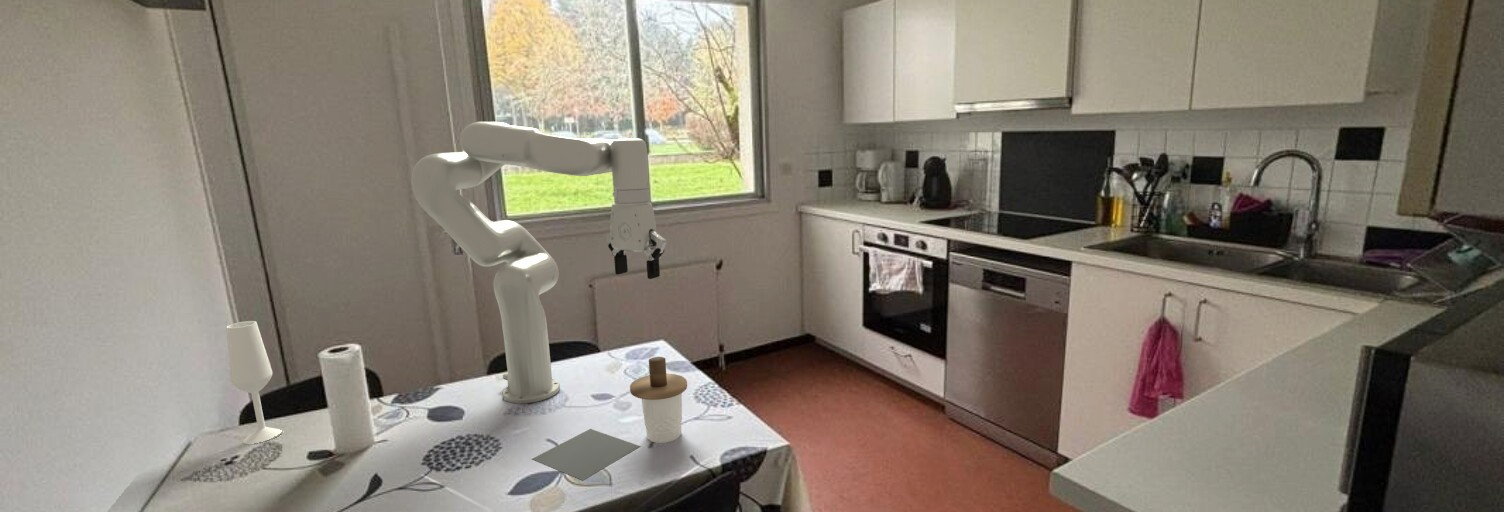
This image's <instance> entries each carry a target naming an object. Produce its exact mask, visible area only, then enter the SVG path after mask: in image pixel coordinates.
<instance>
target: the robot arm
mask: <svg viewBox="0 0 1504 512" xmlns="http://www.w3.org/2000/svg"><path fill="white" fill-rule="evenodd" d="M459 142H460V147H461V149H462V151H453V152H449V151H448V152H437V153H431V154H428V155H425V156H424V157H422V158H420V159H419V160H418V161H417V162H416V163H415V165H414V167H413V169H412V171H411V172H412V173H411V188H412V192H413V195H414V197H415V199H416V201H417V203H418V204H419V206H420V207H421V209H423V210H424V211H425V212H426V213H427V215H428V216H429V217H430V218H431V219H433V220H434V221H435V222H436V223H437V224H438V225H439V226H440V227H441V228H442V229H443V230H444V231H445V232H446V233H447V235H449V237H450V238H452V240H453V241H454V242H455V243H456V244H457V245H458V246H459V247H460V248H461V249H462V250H463V251H464V253H466V255H467V256H468V257H469V258H470V259H471V260H472V261H473V263H476V264H477V265H479V266H481V267H485V268H486V267H493V266H497V265H499V264H502V263H505V264H504V265H502V266H501V267H500V269H498V271H497V272H496V273H495V275H494V278H493V284H492V285H493V292H494V295H495V298H496V299H495V300H496V301H497V304H498V308H499V309H498V310H499V312H500V313H499V314H500V319H501V326H502V333H503V341H504V349H505V351H504V353H505V360H506V368H507V373H504V374H503V375H502V379H503V380H506V381H507V386H506V387H505V388H504V390H503V391H502V397H503V400H505V401H506V402H509V403H513V404H530V403H535V402H536V403H537V402H539V401H543V400H546V399H548V398H552V397H553V396H555V395H556V394H557V393H559V392H560V389H561V388H560V387H561V386H560V382H559V381H558V380H556V379H553V376H552V375H553V374H552V364H551V363H552V362H551V356H550V355H551V354H550V345H549V344H550V343H549V335H548V334H549V333H548V325H547V317H546V312H545V309H544V307H543V304H542V301H541V299H540V295H541V294H544V293H546V292H548V291H549V290H551V289H552V288H554V287H555V285H556V284H557V282H558V280H559V276H560V271H559V268H558V264H557V262H556V261H555V259H554V258H553V257H552V255H550V254H549V252H548V251H547V250H546V249H545V248H544V247H543V246H542V245H541V243H539V242H538V240H537V239H536V238H535V237H534V236H533V235H532V234H531V233H530V232H529V231H528V229H526V228H525V226H523V225H521V224H520V223H518V222H516V221H513V220H510V219H502V220H501V219H500V220H497V221H496V220H495V221H493V220H492V219H491V220H490V218H488V217H487V216H486V215H485V214H484V213H483V212H482V211H481V210H480V209H479V208H478V207H477V205H476V204H474V203H473V202H472V201H471V200H470V199H468V198H467V197H465V196H463V195H462V194H460V193H459V192H458V191H459V190H464V189H471V188H472V189H473V188H474V187H475V188H476V187H477V186H479V185H481V184H482V183H484V182H485V181H487V180H488V179H489V178H490V177H491V176H493V175H494V174H495V173H496V172H498V171H499V170H500V169H501V168H502V167H504V166H505V165H510V166H515V167H516V166H517V167H521V168H522V167H523V168H530V169H533V170H539V171H544V172H548V173H553V174H558V175H559V174H560V175H568V176H573V177H574V176H575V177H588V176H595V175H600V174H606V173H607V174H608V173H611V175H612V185H613V186H612V188H613V191H612V196H613V202H614V203H612V205H611V210H610V223H609V224H610V225H609V226H610V231H609V233H607V234H606V235H604V238H605V240H606V243H607V244H608V245H607V246H608V249H609V251H611V256H612V257H613V259H614V272H615V275H621V274H626V273H627V272H628V270H629V269H628V258H627V257H628V256H627V254H626V252H633V253H641V252H643V253H644V254H645V256H646V258H647V259H648V260H646V272H647V273H646V274H647V275H646V276H647V279H649V280H652V279H655V278H656V279H657V278H659V277H660V276H661V273H660V272H661V270H660V259H662V255H663V254H664V253H665V248H666V245H667V243H668V241H667V239H666V238H664V237H663V236H661V235H660V234H659V233H658V232H657V230H658V229H657V223H656V221H657V220H656V218H655V217H656V215H655V211H654V207H653V204H652V203H651V195H650V192H651V191H650V181H649V180H650V179H649V163H648V162H649V161H648V160H649V159H648V148H647V143H646V141H645V140H644V139H642V138H636V137H635V138H617V139H606V138H575V137H574V138H573V137H565V136H557V135H552V134H551V135H550V134H546V133H542V132H541V131H540V129H537V128H534V127H528V126H527V127H526V126H518V125H510V124H508V123H506V122H502V121H501V122H500V121H476V122H472V123H470V124H468V125H466V126H465V127H464V128H463V130H462V131H461V133H460V136H459Z"/></svg>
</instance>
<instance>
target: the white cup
mask: <svg viewBox="0 0 1504 512" xmlns="http://www.w3.org/2000/svg"><path fill="white" fill-rule="evenodd" d="M682 396H683V395H682V393H681V394H679V395H677V396H674V397H670V398H666V399H658V400H647V399H641V405H642V414H643V420H644V426H645V430H646V437H647V438H646V439H647V440H649V441H650V442H652V443H658V444H659V443H662V444H663V443H670V442H673V441H676V440H677V439H679V438H680V436H681V435H682V419H683V415H682V414H683V402H682V401H683V398H682Z"/></svg>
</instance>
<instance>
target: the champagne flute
mask: <svg viewBox="0 0 1504 512" xmlns="http://www.w3.org/2000/svg"><path fill="white" fill-rule="evenodd" d="M259 328H260V327H259V326H258V322H257V320H256V321H255V320H247V321H239V322H236V323H232V324H229V325H227V326H226V340H227V351H228V352H227V354H228V364H229V377H230V383H231V385H233V386H234V387H235V388H236V389H238V390H241V391H243V392H245V393H248V394H251V399H252V403H253V409H254V412H255V414H254V415H255V418H256V424H257V429H256V430H255V431H253V432H252V433H251V434H249V435H248V436H246V437H245V438H244V439H243V440H242V442H243V444H245V445H255V444H254V443H258V444H260V443H259V442H263V441H265V440H269V439H271V438H273V437H274V436H277V435H278V434H280V433H281V432H282V430H283V429H281V430H280V429H279V428H275V427H268V426H266V423H265V418H264V413H263V409H262V408H263V407H262V403H261V396H260V391H261V390H263V389H264V387H265V386H266V385H268V383H269V382H270V380H272V379H271V378H272V377H273V369H272V365H271V362H270V359H269V357H268V353H267V350H266V348H265V345H264V341H263V338H262V335H261V334H262V333H261V332H260V329H259ZM263 443H264V442H263Z"/></svg>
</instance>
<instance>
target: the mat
mask: <svg viewBox="0 0 1504 512" xmlns="http://www.w3.org/2000/svg"><path fill="white" fill-rule="evenodd" d="M639 448H641V445H639V444H635V443H632V442H629V441H627V440H624V439H621V438H618V437H616V436H613V435H609V434H607V433H603V432H601V431H598V430H595V429H592V428H589V429H587V430H585V431H584V432H581V433H580V434H578V435H576V436H573V437H571V438H570V439H568V440H566V441H564V442H562V443H560V444H557V445H556V446H554V447H552V448H550V449H549V450H546V451H544V452H543V453H540V454H538V455H536V456H534V457H533V458H531V460H533V461H535V462H538V463H539V464H542V465H544V466H547V467H549V468H552V469H554V470H557V471H559V472H561V473H564V474H566V475H568V476H571V477H573V478H576V479H578V480H580V481H585V480H587V479H588V478H591V477H592V476H593V475H595V474H597V473H598V472H601V470H603V469H605V468H607V467H608V466H610V465H611V464H614V463H615V462H617V461H618V460H620V459H622V458H623V457H624V458H625V456H627V455H629V454H630V453H632V452H634V451H636V450H637V449H639Z"/></svg>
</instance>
